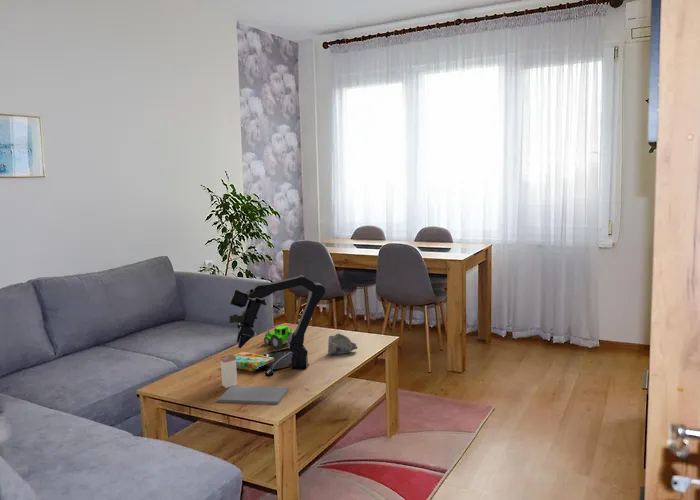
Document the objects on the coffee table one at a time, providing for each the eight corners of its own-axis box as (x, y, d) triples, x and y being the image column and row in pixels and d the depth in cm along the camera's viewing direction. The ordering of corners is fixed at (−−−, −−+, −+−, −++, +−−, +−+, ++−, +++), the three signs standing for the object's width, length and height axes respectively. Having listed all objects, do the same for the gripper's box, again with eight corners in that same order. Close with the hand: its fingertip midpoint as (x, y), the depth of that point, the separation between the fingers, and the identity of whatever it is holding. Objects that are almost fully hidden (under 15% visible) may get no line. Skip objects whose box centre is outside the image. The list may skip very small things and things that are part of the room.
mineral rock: (358, 351, 266) (357, 331, 265) (349, 358, 256) (348, 337, 255) (334, 349, 271) (333, 329, 270) (324, 355, 262) (323, 335, 260)
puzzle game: (241, 350, 261) (274, 356, 250) (242, 359, 262) (274, 366, 251) (223, 357, 251) (256, 364, 240) (224, 367, 252) (257, 374, 241)
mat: (288, 389, 221) (288, 387, 221) (278, 404, 208) (278, 401, 208) (231, 388, 226) (231, 385, 225) (217, 402, 212) (217, 399, 212)
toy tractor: (275, 339, 291) (274, 321, 290) (297, 345, 281) (296, 325, 279) (259, 345, 282) (258, 326, 281) (281, 350, 272) (280, 331, 271)
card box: (233, 382, 232) (231, 354, 230) (237, 385, 229) (235, 357, 227) (222, 385, 229) (220, 357, 228) (226, 388, 226) (223, 359, 224)
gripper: (232, 300, 245) (219, 333, 245) (235, 310, 227) (221, 345, 227) (256, 308, 248) (243, 341, 249) (260, 318, 230) (247, 353, 231)
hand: (238, 344), depth 239 cm, fingers open, 9 cm apart
